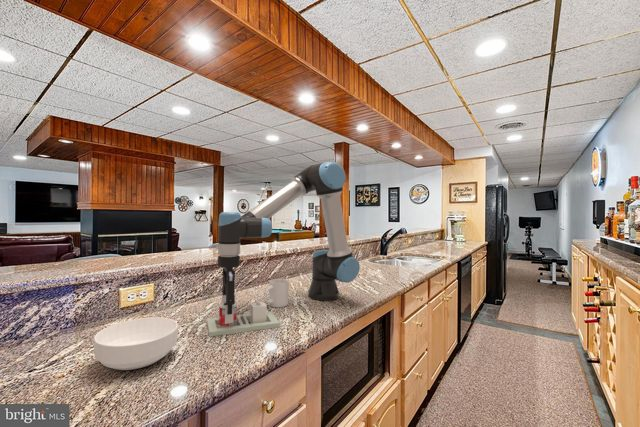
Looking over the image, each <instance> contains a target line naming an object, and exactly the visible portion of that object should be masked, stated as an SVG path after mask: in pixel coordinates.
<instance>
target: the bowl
mask: <svg viewBox="0 0 640 427" xmlns="http://www.w3.org/2000/svg"><path fill="white" fill-rule="evenodd" d="M178 333H179V324H178V322H177V321H176V320H174V319H171V318H169V317H168V318H167V317H158V316H157V317H153V316H152V317H142V318H134V319H129V320H125V321H121V322H118V323H114V324H112V325H109V326H107V327H105V328H103V329H101V330H100V331H98V332H97V333H96V334H95V335H94V338H93V353H94V359H95V360H96V361H98V362H99V363H101V364H102V366H105V367H106V368H111V369H113V370H116V371H117V370H118V371H131V370H137V369H141V368H144V367H148V366H150V365H153V364H154V363H156V362H158V361H160V360H162V359H163V357H166V356H167V355H168V354H169V353H170V352H171V350H172V348H174V347H175V346H176V344H177V342H178Z"/></svg>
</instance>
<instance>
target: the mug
mask: <svg viewBox="0 0 640 427" xmlns="http://www.w3.org/2000/svg"><path fill="white" fill-rule="evenodd" d="M268 284H269V285H268V287H267V288H266V291H265V295H264V298H265V302H266V304H268V305H269V306H270V307H272V308H285V307H287V306H288V305H289V290H290V289H289V288H290V281H289V279H286V278H274V279H270V280H269V283H268ZM267 295H268V299H267Z"/></svg>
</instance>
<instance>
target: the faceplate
mask: <svg viewBox="0 0 640 427" xmlns="http://www.w3.org/2000/svg"><path fill="white" fill-rule="evenodd" d="M249 321H250V313H246V314H237V326H232V327H224V328H219V327H217V325H219V316H218V317H212V318H211V317H210V318H207V320H206V325H207V332H208V337H209V338H210V337H218V336H225V335H232V334H233V335H234V334H238V333H239V334H240V333H247V332H252V331H261V330H268V329H275V328H280V327H281V322H280V321H279V320H278V318H276V316H275V315H274V313H273V312H272V311H267V319H266V322H263V323H255V324H251V323H249Z"/></svg>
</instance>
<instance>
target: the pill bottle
mask: <svg viewBox="0 0 640 427" xmlns="http://www.w3.org/2000/svg"><path fill="white" fill-rule="evenodd" d="M230 301H232V300H230ZM224 303H226V295H223V294H222V296H221V302H220V303H219V305H218V307H219V308H218V309H219V310H218V312H219V313H218V317H219V324H218V328H224V327H232V326H238V322H237V315H238V303H237V301H235V304H234V314H233V323H227V324H225V305H224Z"/></svg>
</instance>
